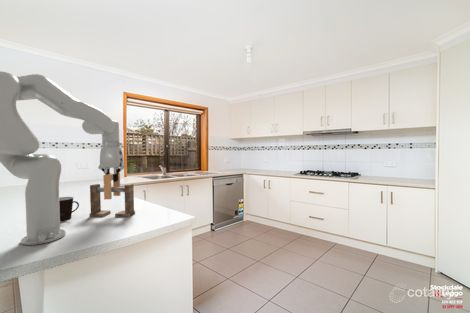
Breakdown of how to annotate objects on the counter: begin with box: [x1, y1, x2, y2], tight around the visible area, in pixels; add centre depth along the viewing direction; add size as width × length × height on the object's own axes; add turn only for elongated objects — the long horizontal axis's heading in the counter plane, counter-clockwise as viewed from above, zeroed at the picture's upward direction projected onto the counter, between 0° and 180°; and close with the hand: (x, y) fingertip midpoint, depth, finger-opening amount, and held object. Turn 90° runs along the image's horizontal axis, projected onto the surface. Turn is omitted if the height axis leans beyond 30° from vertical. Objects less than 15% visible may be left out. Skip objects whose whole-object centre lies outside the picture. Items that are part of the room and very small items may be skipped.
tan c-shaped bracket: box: [103, 172, 121, 200], centre depth 112 cm, size 3×9×12 cm, turn 178°
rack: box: [88, 183, 136, 218], centre depth 112 cm, size 20×6×16 cm, turn 88°
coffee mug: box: [59, 196, 80, 222], centre depth 105 cm, size 12×9×10 cm
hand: (112, 181), depth 111 cm, fingers closed on tan c-shaped bracket, 3 cm apart
